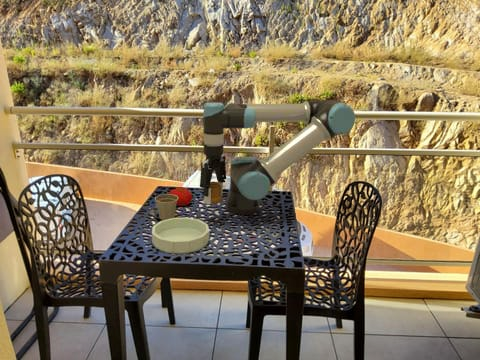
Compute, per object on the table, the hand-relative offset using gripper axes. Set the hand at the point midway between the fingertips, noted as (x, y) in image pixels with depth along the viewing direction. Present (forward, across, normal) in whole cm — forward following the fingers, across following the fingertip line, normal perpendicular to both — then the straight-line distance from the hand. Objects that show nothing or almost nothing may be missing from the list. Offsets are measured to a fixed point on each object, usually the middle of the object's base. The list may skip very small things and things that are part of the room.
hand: (213, 200), depth 153 cm
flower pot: (+9, +8, -18) cm, 22 cm away
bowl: (+9, +20, 0) cm, 22 cm away
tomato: (+9, -8, -24) cm, 27 cm away
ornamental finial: (+1, 0, 0) cm, 1 cm away
